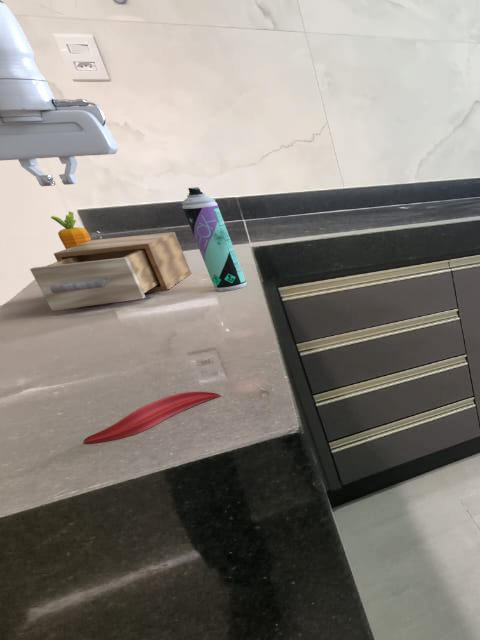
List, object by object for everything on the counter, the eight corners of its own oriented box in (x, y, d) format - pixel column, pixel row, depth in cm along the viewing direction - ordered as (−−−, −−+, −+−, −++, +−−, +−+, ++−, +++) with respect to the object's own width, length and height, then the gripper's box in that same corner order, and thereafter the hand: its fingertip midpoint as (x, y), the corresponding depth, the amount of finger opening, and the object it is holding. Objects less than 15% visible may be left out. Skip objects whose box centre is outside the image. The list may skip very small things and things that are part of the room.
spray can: (219, 286, 112) (180, 187, 103) (249, 282, 114) (214, 185, 105) (212, 292, 107) (171, 190, 99) (243, 288, 109) (206, 187, 101)
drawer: (134, 304, 98) (115, 262, 95) (39, 317, 94) (15, 274, 90) (170, 281, 114) (154, 244, 111) (89, 291, 109) (71, 253, 106)
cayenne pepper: (84, 450, 53) (75, 434, 52) (81, 435, 55) (72, 419, 55) (227, 403, 60) (221, 388, 60) (218, 392, 63) (212, 378, 63)
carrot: (78, 279, 125) (46, 214, 119) (80, 276, 128) (49, 213, 122) (106, 275, 128) (76, 211, 122) (107, 271, 131) (78, 210, 125)
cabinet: (168, 290, 111) (147, 243, 107) (77, 301, 106) (53, 253, 102) (191, 273, 124) (174, 231, 120) (112, 283, 119) (92, 240, 115)
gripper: (104, 99, 97) (137, 178, 102) (-48, 104, 89) (-4, 188, 95) (88, 97, 91) (124, 181, 97) (-76, 101, 84) (-27, 191, 90)
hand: (59, 185), depth 96 cm, fingers closed
